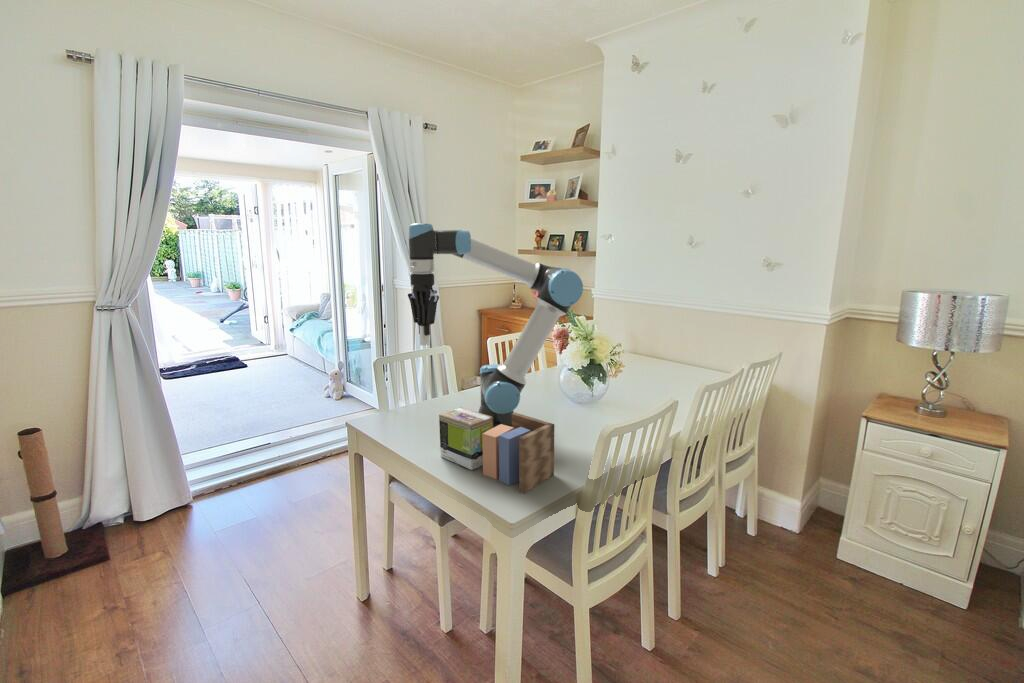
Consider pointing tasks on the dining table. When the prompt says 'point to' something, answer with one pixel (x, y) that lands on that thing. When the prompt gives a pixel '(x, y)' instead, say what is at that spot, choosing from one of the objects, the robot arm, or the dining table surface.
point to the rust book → (492, 450)
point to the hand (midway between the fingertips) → (424, 344)
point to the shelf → (534, 451)
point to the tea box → (463, 436)
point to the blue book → (510, 455)
